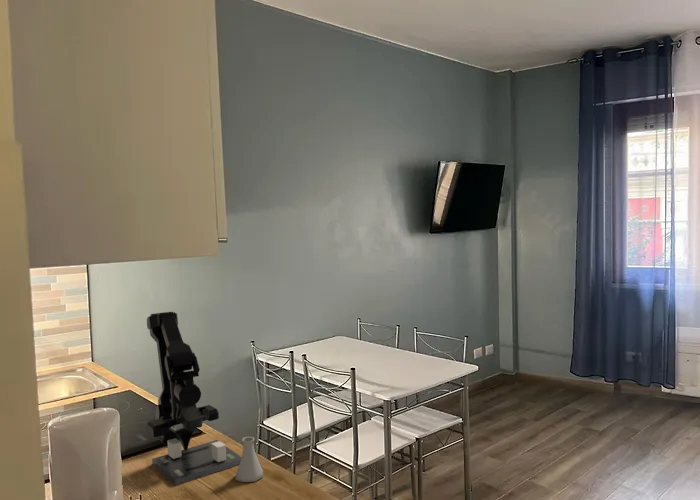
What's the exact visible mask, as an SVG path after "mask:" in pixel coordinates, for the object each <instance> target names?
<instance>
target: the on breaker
mask: <svg viewBox="0 0 700 500" xmlns="http://www.w3.org/2000/svg"><path fill="white" fill-rule="evenodd" d="M217 441H218V440H217ZM226 447H227V445H226V444H225V443H223V442H222V441H220V440H219V441H218V442H215V443H212V458H213V459H214V460H216V461H217V462H220V461H224V460H226Z"/></svg>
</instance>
